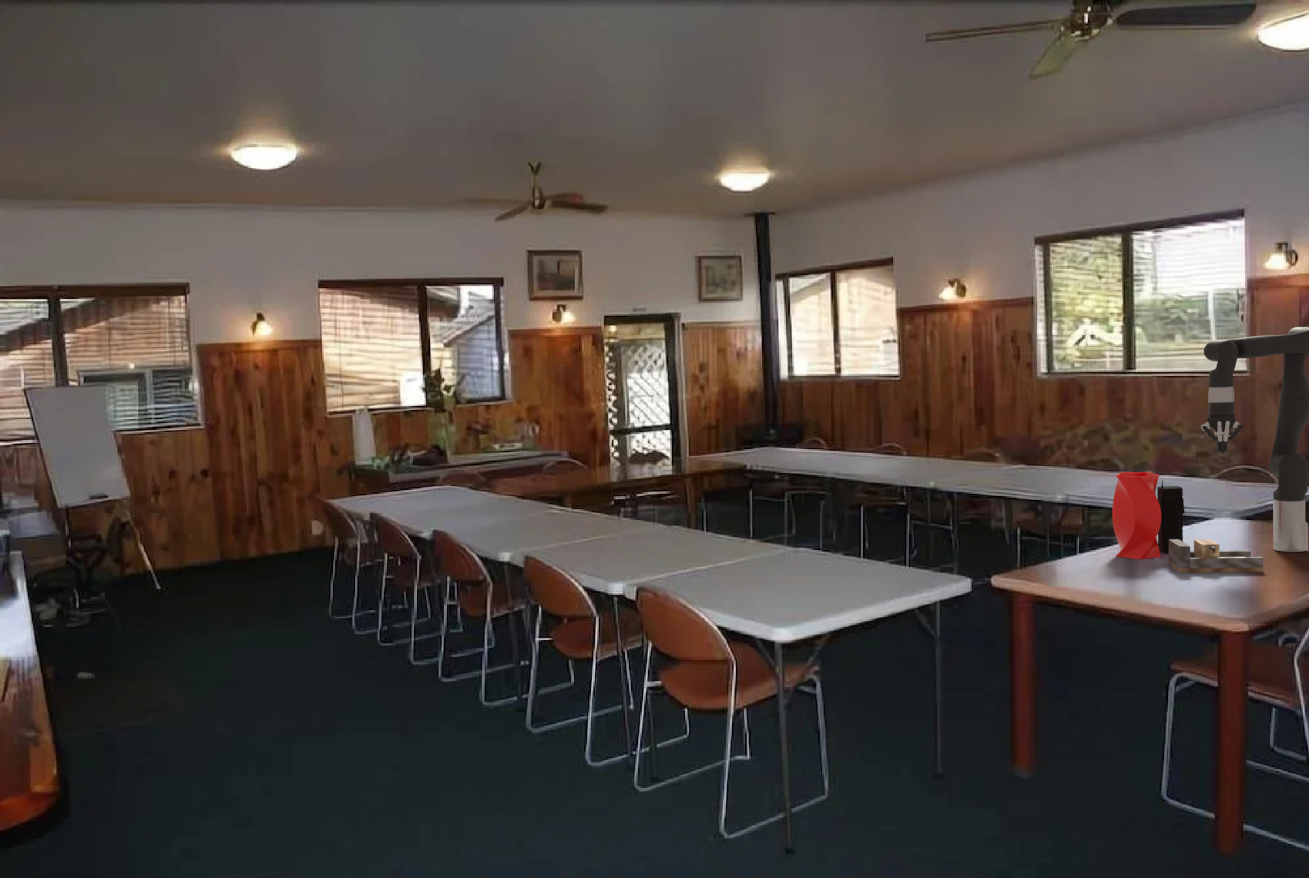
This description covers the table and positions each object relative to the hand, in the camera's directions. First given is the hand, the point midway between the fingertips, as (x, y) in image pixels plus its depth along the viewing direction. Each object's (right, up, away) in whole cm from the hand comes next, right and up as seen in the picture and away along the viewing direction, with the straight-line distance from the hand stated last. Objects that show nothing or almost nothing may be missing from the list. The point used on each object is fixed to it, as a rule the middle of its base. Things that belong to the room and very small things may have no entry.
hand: (1221, 452), depth 345 cm
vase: (-23, -36, +13) cm, 44 cm away
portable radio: (-9, -35, +15) cm, 39 cm away
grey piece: (-9, -37, -13) cm, 40 cm away
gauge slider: (-12, -35, -15) cm, 40 cm away
